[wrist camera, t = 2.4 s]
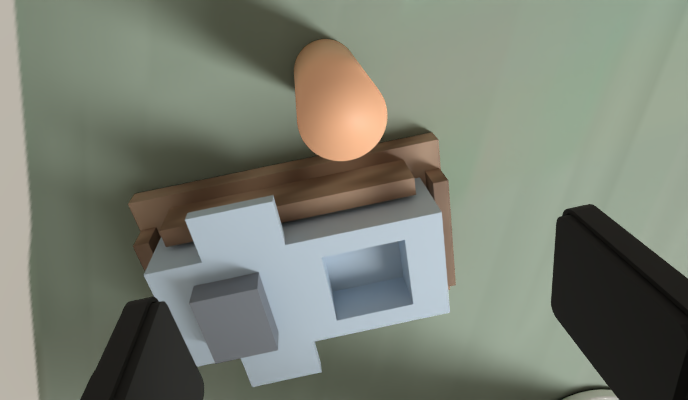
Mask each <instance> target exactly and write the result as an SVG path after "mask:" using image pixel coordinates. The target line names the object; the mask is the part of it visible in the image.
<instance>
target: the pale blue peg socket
mask: <svg viewBox="0 0 688 400" xmlns="http://www.w3.org/2000/svg"><path fill="white" fill-rule="evenodd" d="M414 179H415V188H416V195H413V196H408V197H403V198H398V199H393V200H389V201H384V202H379V203H374V204H370V205H365V206H360V207H355V208H351V209H346V210H341V211H336V212H331V213H327V214H322V215H317V216H312V217H308V218H303V219H298V220H293V221H288V222H284V223H281V221H280V217H279V214H278V210H277V207H276V203H275V200H274V196H273V195H271V196H266V197H261V198H256V199H252V200H247V201H242V202H237V203H232V204H228V205H223V206H218V207H213V208H208V209H204V210H199V211H194V212H189V213H187V216H186V218H185V221H186V224H187V226H188V229H189V231H190V234H191V236H192V239H193V242H188V243H184V244H179V245H174V246H169V247H166V246H165V244H164V242H163V239H162V237H161V238H160V241H159V243H158V245H157V247H156V249H155V251H154V254H153V256H152V258H151V260H150V262H149V264H148V266H147V269H146V271H145V273H144V277H145V279H146V281H147V283H148V285H149V287H150V289H151V291H152V293H153V295H154V297H155V298H157V299H158V301H159V302H160V301H164V302H166V304H167V305H168V307H169V309H170V311H171V313H172V316H173V318H174V320H175V322H176V324H177V326H178V328H179V330H180V332H181V334H182V337H183V339H184V341H185V343H186V345H187V347H188V349H189V351H190V353H191V356H192V358H193V360H194V362H195V364H196V366H197V367H198V366H203V365H208V364H212V363H215V364H217V363H221V362H226V361H231V360H235V359H240V358H241V361H242V363H243V366H244V368H245V371H246V373H247V376H248V378H249V381H250V383H251V385H252V387H256V386H260V385H265V384H269V383H274V382H279V381H283V380H288V379H293V378H297V377H302V376H306V375H311V374H316V373H320V372H322V371H321V362H320V359H319V355H318V351H317V348H316V344H315V341H319V340H324V339H329V338H333V337H338V336H343V335H347V334H352V333H357V332H361V331H366V330H371V329H375V328H380V327H384V326H389V325H394V324H398V323H403V322H408V321H412V320H417V319H422V318H426V317H431V316H436V315H440V314H445V313H450V307H449V295H448V283H447V270H446V258H445V246H444V233H443V221H442V212H441V210H440V209H439V207H438V205H437V204H436V202H435V201H434V199H433V197H432V196H431V194H430V193H429V191H428V190H427V188H426V186H425V185H424V183H423V182H422V180H421V178H420V177H419V178H414Z"/></svg>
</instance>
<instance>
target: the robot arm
mask: <svg viewBox="0 0 688 400" xmlns="http://www.w3.org/2000/svg"><path fill="white" fill-rule="evenodd" d="M551 306H552V310H553V313H554V315H555V317H556V318H557V319H558V321H559V322H560V323H561V325H562V326H563V327H564V329H565V330H566V331H567V333H568V334H569V335H570V336H571V338H572V339H573V340H574V342H575V343H576V344H577V346H578V347H579V348H580V350H581V351H582V352H583V353H584V355H585V356H586V357H587V359H588V360H589V361H590V363H591V364H592V365H593V367H594V368H595V369H596V370H597V372H598V373H599V374H600V376H601V377H602V378H603V380H604V381H605V382H606V384H607V385H608V386H609V387H610V389H611V390H604V389H599V390H589V391H585V392H580V393H577V394H574V395H571V396H568V397H566V398H564V399H562V400H688V279H687V278H686V277H685V276H684V275H682V274H681V273H680V272H679V271H677V270H676V269H675V268H673V267H672V266H671V265H670V264H668V263H667V262H666V261H665V260H663V259H662V258H661V257H659V256H658V255H657V254H656V253H654V252H653V251H652V250H651V249H649V248H648V247H647V246H645V245H644V244H643V243H642V242H640V241H639V240H638V239H637V238H635V237H634V236H633V235H631V234H630V233H629V232H628V231H626V230H625V229H624V228H622V227H621V226H620V225H619V224H617V223H616V222H615V221H614V220H612V219H611V218H610V217H608V216H607V215H606V214H605V213H603V212H602V211H601V210H600V209H598V208H597V207H596V206H594V205H592V204H588V205H583V206H579V207H574V208H569V209H566V210H565V211H564V212H563V215H562V216H561V217H559V218H558V219H557V223H556V237H555V252H554V266H553V281H552V296H551ZM203 397H204V383H203V379H202V377H201V374H200V372H199V370H198V368H197V366H196V364H195V362H194V360H193V358H192V356H191V353H190V351H189V349H188V347H187V345H186V343H185V341H184V339H183V337H182V334H181V332H180V330H179V328H178V326H177V324H176V322H175V320H174V318H173V316H172V313H171V311H170V309H169V307H168V305H167V304H166V302H164V301H160V302H159V301H158V299H157V298H155V297H149V298H144V299H140V300H135V301H130V302H128V303H127V304H126V305H125V307H124V309H123V311H122V314H121V316H120V318H119V320H118V322H117V324H116V327H115V329H114V331H113V333H112V335H111V337H110V340H109V342H108V344H107V346H106V348H105V350H104V353H103V355H102V357H101V359H100V361H99V363H98V366H97V368H96V370H95V371H94V373H93V375H92V376H91V378H90V380H89V382H88V384H87V387H86V389H85V391H84V393H83V395H82V397H81V399H80V400H203Z"/></svg>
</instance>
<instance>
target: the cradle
mask: <svg viewBox="0 0 688 400" xmlns="http://www.w3.org/2000/svg"><path fill="white" fill-rule="evenodd" d="M419 177H420V178H421V180H422V182H423V183H424V185H425V186H426V188H427V190H428V191H429V193H430V194H431V196H432V197H433V199H434V201H435V202H436V204H437V205H438V207H439V209H440V210H441V212H442V221H443V233H444V246H445V258H446V270H447V283H448V290H450V286H454V285H456V282H455V268H454V254H453V240H452V226H451V211H450V197H449V183H448V179H447V178H446V177H445V175H444V174H443V173H442V171H441V167H440V155H439V142H438V139H437V137H436V136H435V135H434V134H433V133H432V132H431V133H426V134H421V135H416V136H411V137H406V138H402V139H397V140H392V141H387V142H382V143H377V145H376V146H375V147H374V148H373V149H372V150H371V151H369V152H368V153H366V154H365V155H363V156H361V157H359V158H356V159H353V160H348V161H333V160H329V159H326V158H323V157H321V156H315V157H310V158H305V159H300V160H295V161H291V162H286V163H281V164H276V165H271V166H266V167H262V168H257V169H252V170H247V171H242V172H237V173H233V174H228V175H223V176H218V177H213V178H209V179H204V180H199V181H194V182H189V183H184V184H180V185H175V186H170V187H165V188H160V189H155V190H151V191H146V192H141V193H136V194H134V195H133V197H132V198H131V200H130V201H129V203H128V205H129V208H130V210H131V212H132V214H133V216H134V218H135V220H136V223H137V225H138V227H139V229H140V231H141V232H140V234H139V236H138V238H137V239H136V241H135V243H134V245H133V248H134V250H135V252H136V254H137V256H138V258H139V260H140V262H141V264H142V267H143V269H144V271H146V269H147V266H148V264H149V262H150V260H151V258H152V256H153V254H154V251H155V249H156V247H157V245H158V243H159V241H160V238H161V237H162V239H163V242H164V244H165V246H166V247H169V246H174V245H179V244H184V243H188V242H193V239H192V236H191V234H190V231H189V229H188V226H187V224H186V221H185V218H186V216H187V213H189V212H194V211H199V210H204V209H208V208H213V207H218V206H223V205H228V204H232V203H237V202H242V201H247V200H252V199H256V198H261V197H266V196H271V195H273V196H274V200H275V203H276V207H277V210H278V214H279V217H280V221H281V223H284V222H288V221H293V220H298V219H303V218H308V217H312V216H317V215H322V214H327V213H331V212H336V211H341V210H346V209H351V208H355V207H360V206H365V205H370V204H374V203H379V202H384V201H389V200H393V199H398V198H403V197H408V196H413V195H416V188H415V179H414V178H419Z"/></svg>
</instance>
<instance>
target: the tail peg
mask: <svg viewBox="0 0 688 400" xmlns="http://www.w3.org/2000/svg"><path fill="white" fill-rule="evenodd" d="M294 81H295V95H296V110H297V124H298V129H299V132H300V135H301V137H302V139H303V141H304V142H305V144H306V145H307V146H308V147H309V148H310V149H311V150H312V151H313V152H314V153H316V154H317V155H319V156H321V157H323V158H326V159H329V160H333V161H348V160H353V159H356V158H359V157H361V156H363V155H365V154H366V153H368V152H369V151H371V150H372V149H373V148H374V147H375V146H376V145H377V143H378V142H379V141H380V139H381V137H382V135H383V133H384V131H385V128H386V124H387V108H386V104H385V101H384V98H383V96H382V94H381V93H380V91H379V90H378V89H377V87H376V86H375V84H374V83H373V82H372V80H371V79H370V78H369V76H368V75H367V74H366V72H365V71H364V70H363V68H362V67H361V65H360V64H359V63H358V61H357V60H356V59H355V57H354V56H353V55H352V53H351V52H350V51H349V49H348V48H347V47H345V46H344V45H343V44H341V43H340V42H337V41H335V40H331V39H320V40H316V41H313V42H311V43H309V44H308V45H306V46H305V47H304V48H303V49H302V50H301V52H300V53H299V54H298V56H297V58H296V61H295V65H294Z"/></svg>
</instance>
